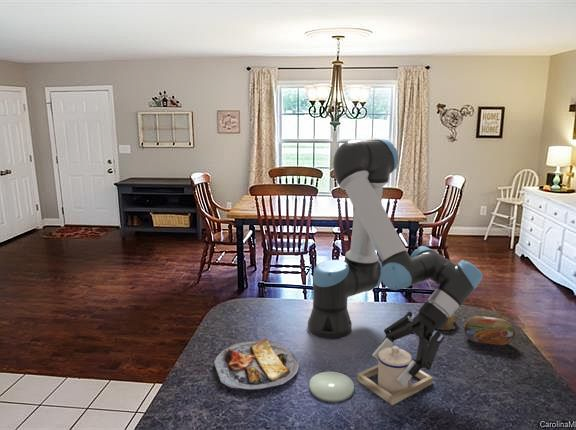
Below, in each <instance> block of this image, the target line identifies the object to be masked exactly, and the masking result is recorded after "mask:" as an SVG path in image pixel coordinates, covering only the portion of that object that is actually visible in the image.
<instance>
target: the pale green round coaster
mask: <svg viewBox="0 0 576 430" xmlns="http://www.w3.org/2000/svg"><path fill="white" fill-rule="evenodd" d="M354 384H355V383H354V381H353V380H352V379H351V378H350V377H349V376H348V375H346V374H343V373H340V372H337V371H322V372H319V373H316V374H315V375H313V376H312V377H311V379H310V380H309V390H310V393H311V394H312V395H313V396H314V397H315V398H317V399H319V400H321V401H325V402H330V403H331V402H332V403H336V402H337V403H338V402H344V401H346V400H348V399H349V398H350V397H352V396H353V394H354V392H355V391H354V390H355V385H354Z"/></svg>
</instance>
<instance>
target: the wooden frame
mask: <svg viewBox="0 0 576 430" xmlns="http://www.w3.org/2000/svg"><path fill="white" fill-rule="evenodd" d="M376 375H378V364H376V365H375V366H372V367H370V368H368V369H365V370H363V371H361V372H359V373H357V374H356V381H357V382H359V383H360V384H362V385H363V386H364V387H366V388H367V389H368V390H370V391H372V393H374V394H376V395H377V396H378V397H380V398H381V399H382V400H384V401H385V402H387V403H388V404H389V405H391V406H394V405H396V404H397V403H400V402H401V401H403V400H406V399H407V398H409V397H411V396H413V395H414V394H416V393H418V392H420V391H421V390H423V389H425V388H427V387H429V386H432V385H433V381H434V376H431V375H430V374H428V373H427V372H424V371H423V370H422V369H420V370H419V372H418V373H417V374H416V375H415V376H414V377H416V378H418V379H419V381H416V382H415V383H413V384H410V386H409V387H407V388H405V389H403V390H401V391H399V392H398V393H396V394H394V395H392V394H390V393H389V392H387V391H386V390H384V389H383V388H381V387H380V386H379V385H378V383H376V382H374V381H373V380H372V379H370V378H371V377H374V376H376Z"/></svg>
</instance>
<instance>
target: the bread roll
mask: <svg viewBox="0 0 576 430" xmlns="http://www.w3.org/2000/svg"><path fill="white" fill-rule="evenodd" d="M456 325H457V315H456V314H455V313H454V314H453V315H452V316H451V317H448V321H447V323H446V324H445V325H444V326H443V327H442V328H441V329H440V330H441V331H442V330H443V331H450V330H454V329H456Z"/></svg>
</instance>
